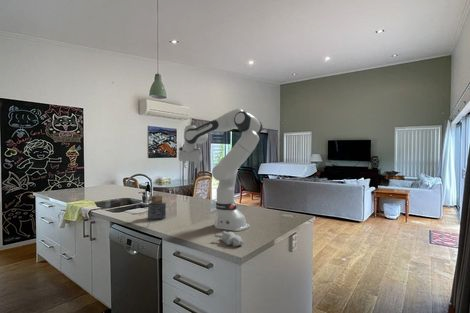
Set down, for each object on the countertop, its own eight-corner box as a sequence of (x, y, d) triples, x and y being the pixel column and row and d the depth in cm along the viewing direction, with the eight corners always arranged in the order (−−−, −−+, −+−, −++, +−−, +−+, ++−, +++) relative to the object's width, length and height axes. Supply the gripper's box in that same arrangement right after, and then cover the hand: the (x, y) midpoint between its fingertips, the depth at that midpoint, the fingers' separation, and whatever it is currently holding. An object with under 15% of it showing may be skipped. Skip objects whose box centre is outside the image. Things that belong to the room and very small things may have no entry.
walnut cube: (162, 203, 183) (162, 195, 183) (156, 204, 179) (156, 196, 179) (157, 202, 186) (157, 195, 186) (151, 203, 182) (151, 196, 182)
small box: (166, 217, 186) (166, 202, 186) (162, 219, 179) (162, 204, 179) (151, 217, 187) (151, 202, 187) (147, 219, 180) (147, 204, 180)
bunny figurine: (234, 241, 126) (213, 230, 136) (233, 251, 127) (212, 240, 137) (247, 236, 133) (226, 226, 143) (246, 246, 134) (225, 236, 144)
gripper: (204, 148, 187) (204, 168, 187) (183, 148, 199) (183, 167, 199) (198, 148, 182) (198, 168, 182) (177, 148, 193) (177, 167, 194)
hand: (190, 167), depth 191 cm, fingers open, 8 cm apart
